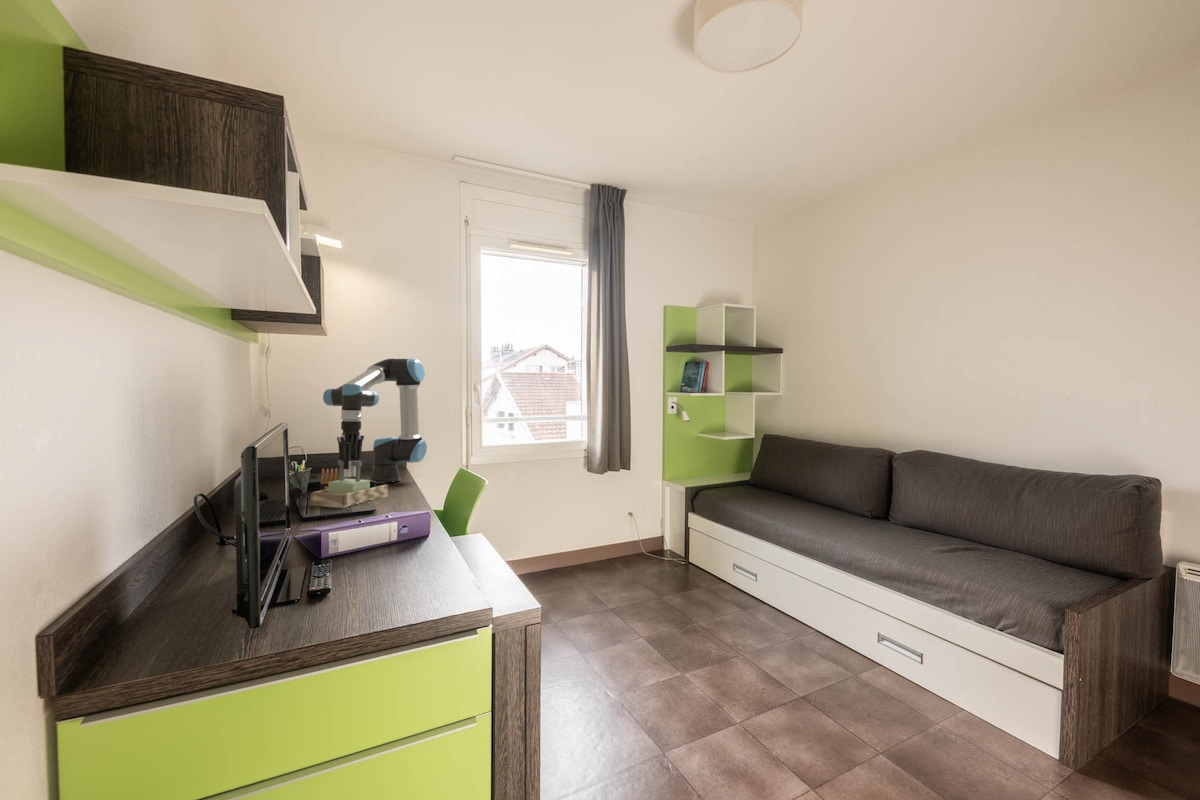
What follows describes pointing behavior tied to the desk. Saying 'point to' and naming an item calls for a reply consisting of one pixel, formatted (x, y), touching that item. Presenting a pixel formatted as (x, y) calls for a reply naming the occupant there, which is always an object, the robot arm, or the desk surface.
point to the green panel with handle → (348, 481)
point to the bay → (347, 497)
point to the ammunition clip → (326, 479)
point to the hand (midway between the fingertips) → (349, 476)
